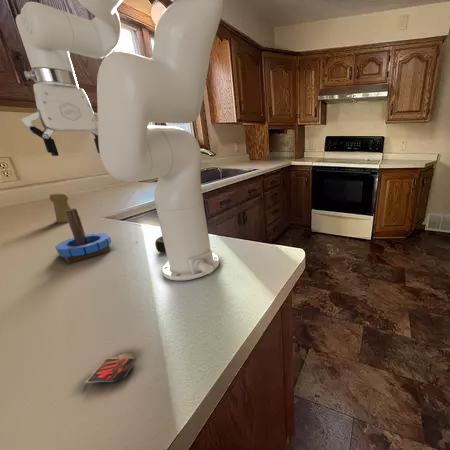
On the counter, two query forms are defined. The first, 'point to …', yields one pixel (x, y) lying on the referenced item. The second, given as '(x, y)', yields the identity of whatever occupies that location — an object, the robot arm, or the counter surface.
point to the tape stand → (79, 236)
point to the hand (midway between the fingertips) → (79, 154)
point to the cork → (60, 206)
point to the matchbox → (112, 369)
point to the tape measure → (160, 245)
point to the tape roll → (72, 249)
